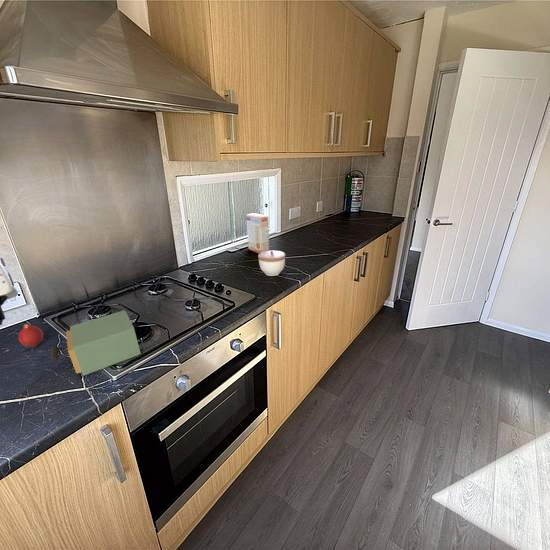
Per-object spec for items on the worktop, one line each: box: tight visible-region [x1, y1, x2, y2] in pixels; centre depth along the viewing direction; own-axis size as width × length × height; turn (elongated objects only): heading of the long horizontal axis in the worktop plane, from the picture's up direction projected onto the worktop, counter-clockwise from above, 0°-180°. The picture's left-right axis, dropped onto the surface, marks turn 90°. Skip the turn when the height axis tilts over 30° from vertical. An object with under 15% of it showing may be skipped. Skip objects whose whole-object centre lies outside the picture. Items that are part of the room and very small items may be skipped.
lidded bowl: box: [257, 250, 286, 277], centre depth 136 cm, size 13×13×11 cm
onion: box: [18, 324, 44, 348], centre depth 89 cm, size 6×6×8 cm
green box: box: [69, 310, 142, 377], centre depth 85 cm, size 15×13×9 cm
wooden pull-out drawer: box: [50, 330, 82, 375], centre depth 82 cm, size 18×11×7 cm, turn 126°
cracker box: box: [245, 212, 270, 255], centre depth 165 cm, size 14×6×21 cm, turn 37°
